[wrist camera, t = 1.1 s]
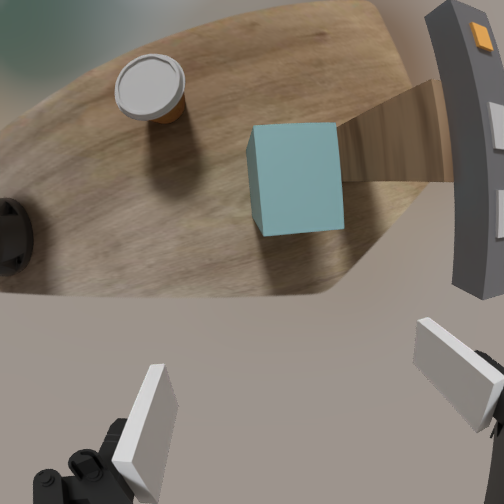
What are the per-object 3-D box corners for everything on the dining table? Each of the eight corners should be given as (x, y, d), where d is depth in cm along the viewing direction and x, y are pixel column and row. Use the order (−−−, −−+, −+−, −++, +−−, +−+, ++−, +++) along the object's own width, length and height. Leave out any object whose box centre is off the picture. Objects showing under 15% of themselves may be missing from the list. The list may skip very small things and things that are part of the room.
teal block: (252, 216, 49) (263, 236, 30) (245, 150, 47) (253, 125, 28) (302, 212, 50) (344, 228, 30) (296, 146, 48) (335, 122, 28)
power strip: (451, 284, 21) (485, 302, 17) (424, 17, 17) (452, -5, 12) (483, 277, 21) (517, 292, 17) (459, 27, 17) (488, 11, 13)
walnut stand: (330, 182, 49) (444, 182, 20) (325, 133, 47) (431, 79, 18) (364, 180, 49) (493, 182, 20) (359, 133, 47) (482, 90, 18)
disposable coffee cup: (206, 111, 46) (197, 89, 34) (156, 145, 46) (132, 133, 35) (176, 68, 44) (161, 38, 32) (128, 101, 44) (100, 80, 33)
